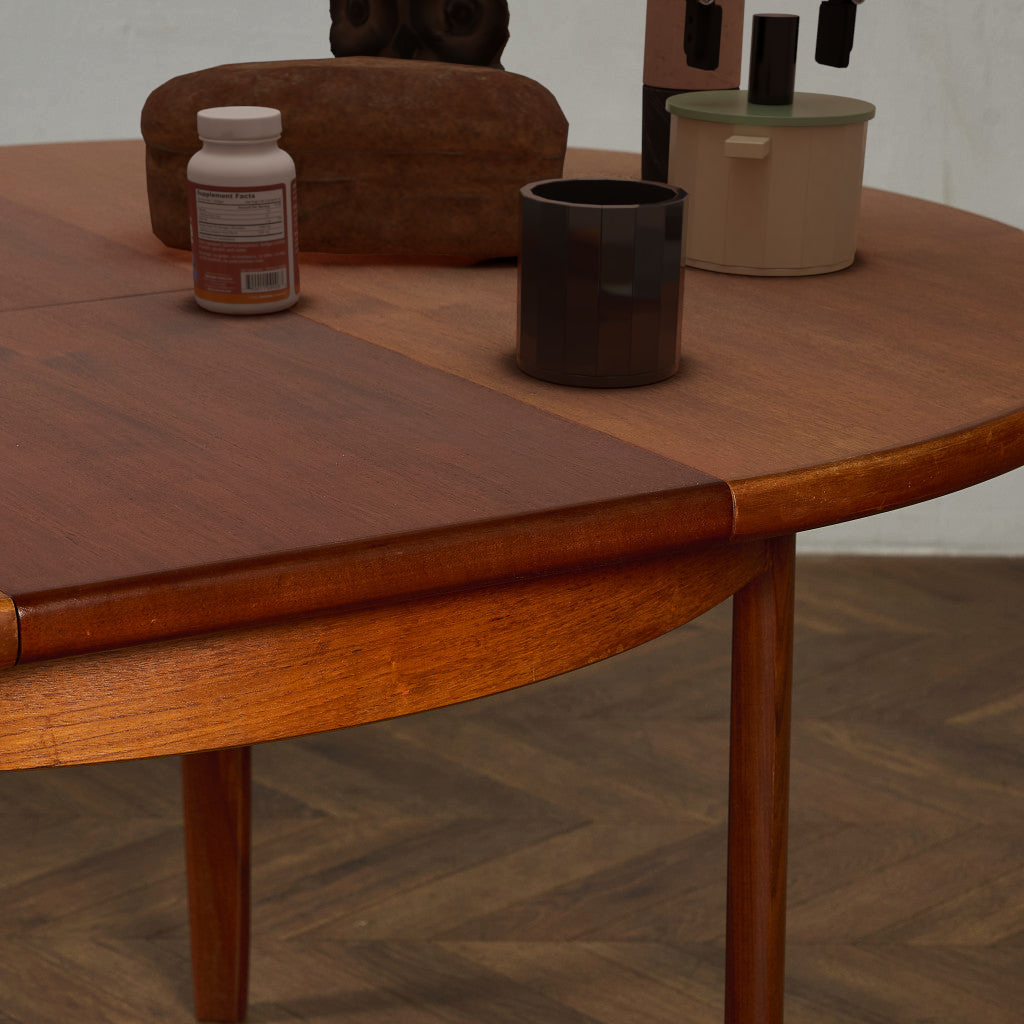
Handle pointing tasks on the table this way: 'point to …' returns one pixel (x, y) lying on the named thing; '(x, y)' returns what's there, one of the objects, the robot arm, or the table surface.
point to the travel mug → (680, 73)
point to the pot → (769, 195)
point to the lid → (771, 87)
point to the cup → (600, 280)
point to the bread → (373, 150)
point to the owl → (421, 30)
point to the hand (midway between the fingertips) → (767, 67)
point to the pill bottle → (243, 213)
